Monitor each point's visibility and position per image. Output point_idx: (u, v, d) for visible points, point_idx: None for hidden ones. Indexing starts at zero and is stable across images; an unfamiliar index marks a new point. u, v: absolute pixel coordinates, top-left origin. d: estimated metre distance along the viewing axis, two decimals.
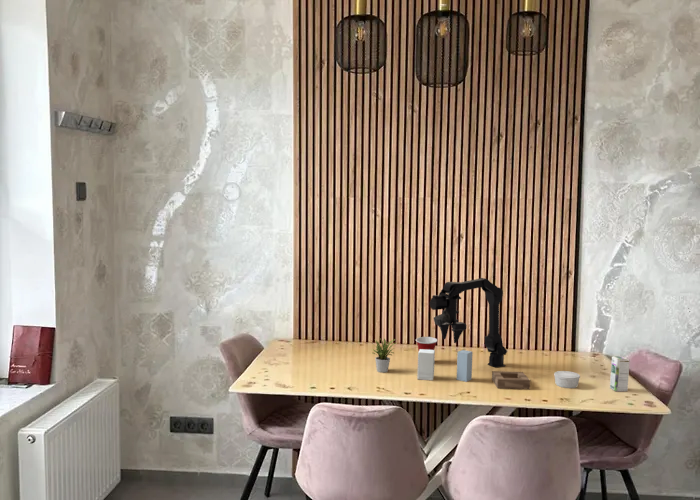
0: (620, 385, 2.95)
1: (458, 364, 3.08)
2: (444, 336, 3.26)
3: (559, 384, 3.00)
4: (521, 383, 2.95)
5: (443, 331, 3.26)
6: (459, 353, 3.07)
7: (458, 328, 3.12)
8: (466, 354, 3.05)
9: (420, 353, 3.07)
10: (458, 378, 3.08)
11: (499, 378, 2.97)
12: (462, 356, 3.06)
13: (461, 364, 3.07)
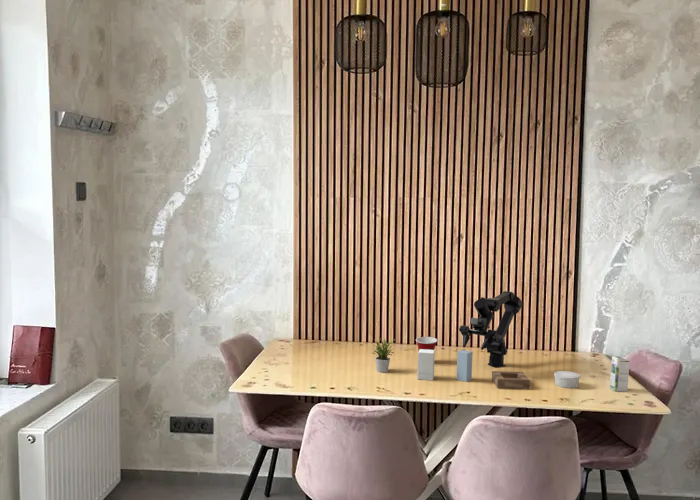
0: (620, 385, 2.95)
1: (458, 364, 3.08)
2: (465, 344, 3.17)
3: (559, 384, 3.00)
4: (521, 383, 2.95)
5: (466, 339, 3.18)
6: (459, 353, 3.07)
7: (495, 334, 3.11)
8: (466, 354, 3.05)
9: (420, 353, 3.07)
10: (458, 378, 3.08)
11: (499, 378, 2.97)
12: (462, 356, 3.06)
13: (461, 364, 3.07)
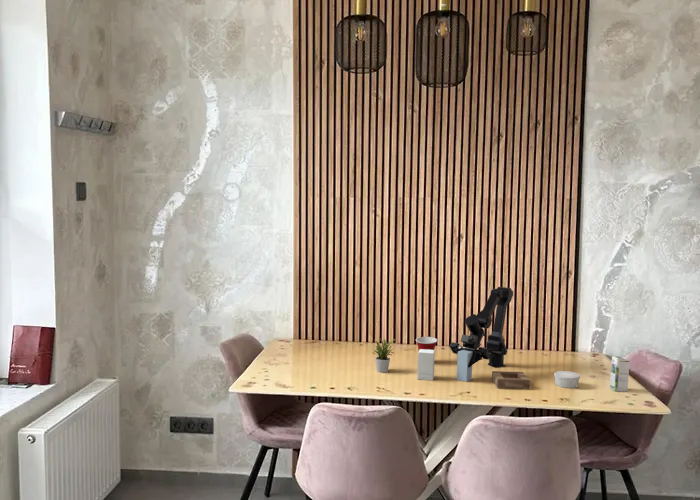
0: (620, 385, 2.95)
1: (458, 364, 3.08)
2: None
3: (559, 384, 3.00)
4: (521, 383, 2.95)
5: None
6: (459, 353, 3.07)
7: (486, 352, 3.05)
8: (466, 354, 3.05)
9: (420, 353, 3.07)
10: (458, 378, 3.08)
11: (499, 378, 2.97)
12: (462, 356, 3.06)
13: (461, 363, 3.07)
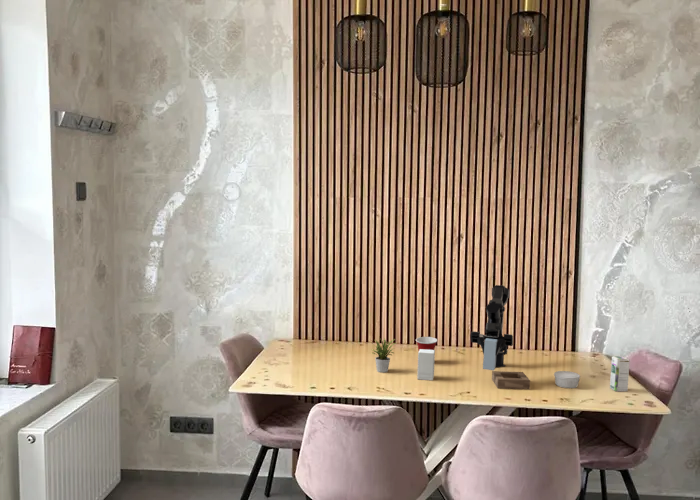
0: (620, 385, 2.95)
1: (485, 353, 3.01)
2: None
3: (559, 384, 3.00)
4: (521, 383, 2.95)
5: None
6: (487, 342, 3.00)
7: (512, 339, 3.02)
8: (495, 342, 2.99)
9: (420, 353, 3.07)
10: (485, 367, 3.02)
11: (499, 378, 2.97)
12: (490, 345, 3.00)
13: (488, 352, 3.00)
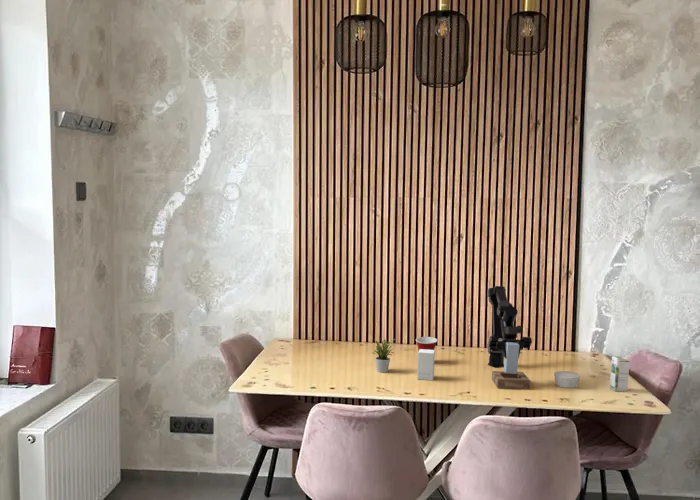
0: (620, 385, 2.95)
1: (508, 357, 2.99)
2: None
3: (559, 384, 3.00)
4: (521, 383, 2.95)
5: None
6: (510, 346, 2.99)
7: None
8: (518, 346, 2.99)
9: (420, 353, 3.07)
10: (508, 371, 3.00)
11: (499, 378, 2.97)
12: (513, 348, 2.99)
13: (512, 356, 2.99)
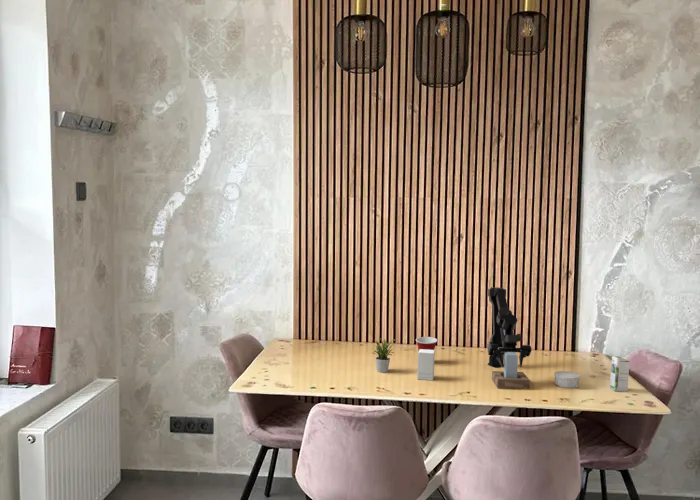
0: (620, 385, 2.95)
1: (507, 367, 3.00)
2: None
3: (559, 384, 3.00)
4: (521, 383, 2.95)
5: None
6: (508, 356, 2.99)
7: None
8: (516, 356, 2.99)
9: (420, 353, 3.07)
10: None
11: (499, 378, 2.97)
12: (512, 358, 2.99)
13: (511, 366, 3.00)
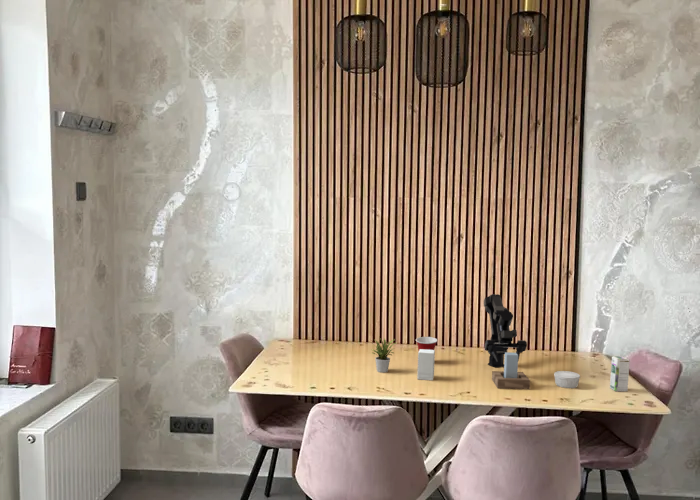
0: (620, 385, 2.95)
1: (507, 367, 3.00)
2: None
3: (559, 384, 3.00)
4: (521, 383, 2.95)
5: None
6: (509, 356, 2.99)
7: None
8: (517, 356, 2.99)
9: (420, 353, 3.07)
10: None
11: (499, 378, 2.97)
12: (512, 358, 2.99)
13: (511, 366, 2.99)
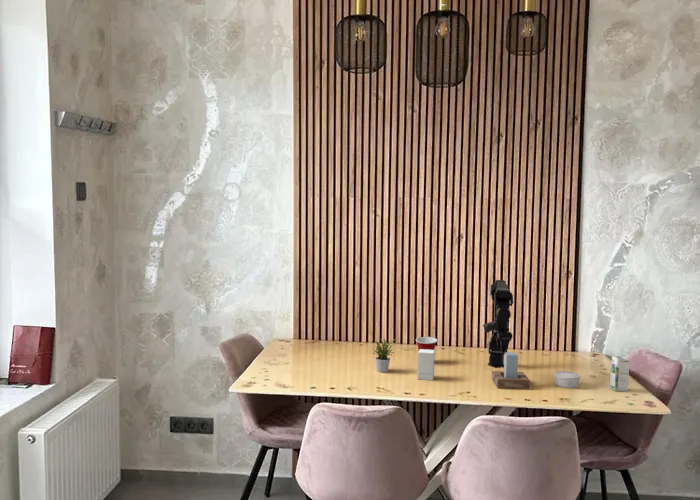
0: (620, 385, 2.95)
1: (507, 367, 3.00)
2: (498, 345, 3.17)
3: (559, 384, 3.00)
4: (521, 383, 2.95)
5: (498, 339, 3.17)
6: (509, 356, 2.99)
7: (501, 337, 3.03)
8: (517, 356, 2.99)
9: (420, 353, 3.07)
10: None
11: (499, 378, 2.97)
12: (512, 358, 2.99)
13: (511, 366, 2.99)
